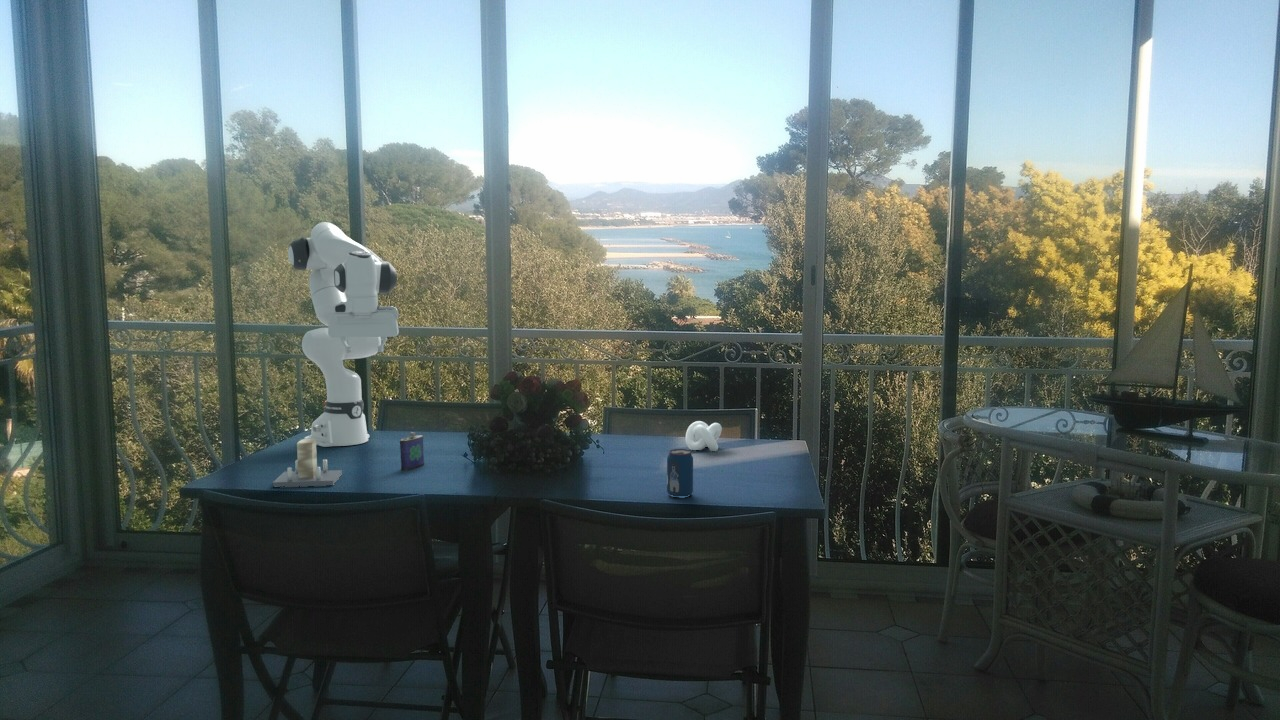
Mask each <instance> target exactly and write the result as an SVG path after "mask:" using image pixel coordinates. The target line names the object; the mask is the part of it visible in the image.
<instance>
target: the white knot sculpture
mask: <svg viewBox="0 0 1280 720" xmlns="http://www.w3.org/2000/svg"><path fill="white" fill-rule="evenodd" d="M722 431H723V428H722V425H721V424H720V423H718V422H713V423H711V424H710V425H708V423H706V422H705V421H701V420H696V421H694V422H692V423H690V425H689V426H688V427H687V429H686V432H685V444H686V446H687V448H688V450H690V451H692V450H700V451H701V450H703V449H706V448H705V447H707V446H708V450H709V451H711V452H712V451H715V452H718V450H719V445H718V443H717V441H718V439H719V438H720V436H721V434H722Z"/></svg>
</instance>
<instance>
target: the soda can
mask: <svg viewBox="0 0 1280 720" xmlns="http://www.w3.org/2000/svg"><path fill="white" fill-rule="evenodd" d="M668 451H669V453H668V455H667V456H666V493H667V494H668V495H669V494H670V495H673V496H688V495H691V496H692V494H693V492H694V456H693V454H692V450H691V449H684V448H676V449H670V450H668Z"/></svg>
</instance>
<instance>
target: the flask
mask: <svg viewBox="0 0 1280 720" xmlns="http://www.w3.org/2000/svg"><path fill="white" fill-rule="evenodd" d="M409 433H410V435H409V436H406V437H403V438H401V439H400V440H399V450H400V468H401V469H400V470H401V471H410V470H414V469H416V468H419V467H421V465H422V466H424V465H425V451H424V450H425V449H424V448H425V447H424V436H423V435H421V434H420V435H419V434H418V435H415V434H416V432H413V431H410V432H409ZM409 469H410V470H409Z"/></svg>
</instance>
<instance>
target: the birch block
mask: <svg viewBox="0 0 1280 720" xmlns="http://www.w3.org/2000/svg"><path fill="white" fill-rule="evenodd" d="M296 449H297V450H296V452H297V454H296V455H297V460H298V477H299V478H314V477H315V476H316V467H318V458H317V457H318V456H317V454H318V453H317V445H316V439H304V438H303V439H302V438H301V439H300V440H299V441H298V442H296Z"/></svg>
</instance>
